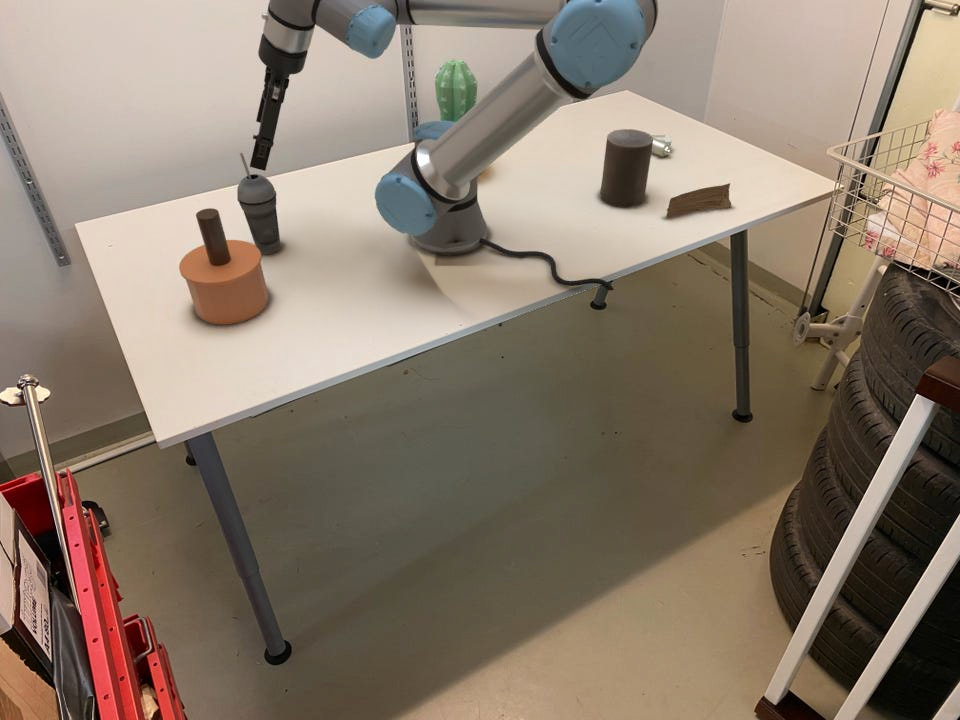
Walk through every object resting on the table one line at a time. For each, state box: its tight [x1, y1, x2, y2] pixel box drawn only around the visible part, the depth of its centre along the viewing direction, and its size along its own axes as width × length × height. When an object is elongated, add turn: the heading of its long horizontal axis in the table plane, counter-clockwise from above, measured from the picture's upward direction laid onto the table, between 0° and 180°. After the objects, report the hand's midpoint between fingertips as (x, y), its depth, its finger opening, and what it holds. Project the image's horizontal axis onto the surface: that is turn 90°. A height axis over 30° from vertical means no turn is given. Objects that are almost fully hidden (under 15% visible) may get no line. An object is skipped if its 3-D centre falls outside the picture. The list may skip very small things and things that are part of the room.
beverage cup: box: [236, 152, 281, 255], centre depth 138 cm, size 7×7×20 cm
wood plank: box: [665, 182, 732, 219], centre depth 153 cm, size 15×2×5 cm, turn 112°
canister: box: [185, 263, 269, 325], centre depth 127 cm, size 13×13×8 cm
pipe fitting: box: [650, 134, 672, 158], centre depth 176 cm, size 8×4×7 cm
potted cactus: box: [433, 58, 478, 122], centre depth 161 cm, size 15×15×25 cm
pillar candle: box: [599, 128, 653, 208], centre depth 155 cm, size 10×10×15 cm
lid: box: [178, 207, 262, 286], centre depth 122 cm, size 14×14×10 cm
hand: (260, 144), depth 133 cm, fingers open, 13 cm apart
